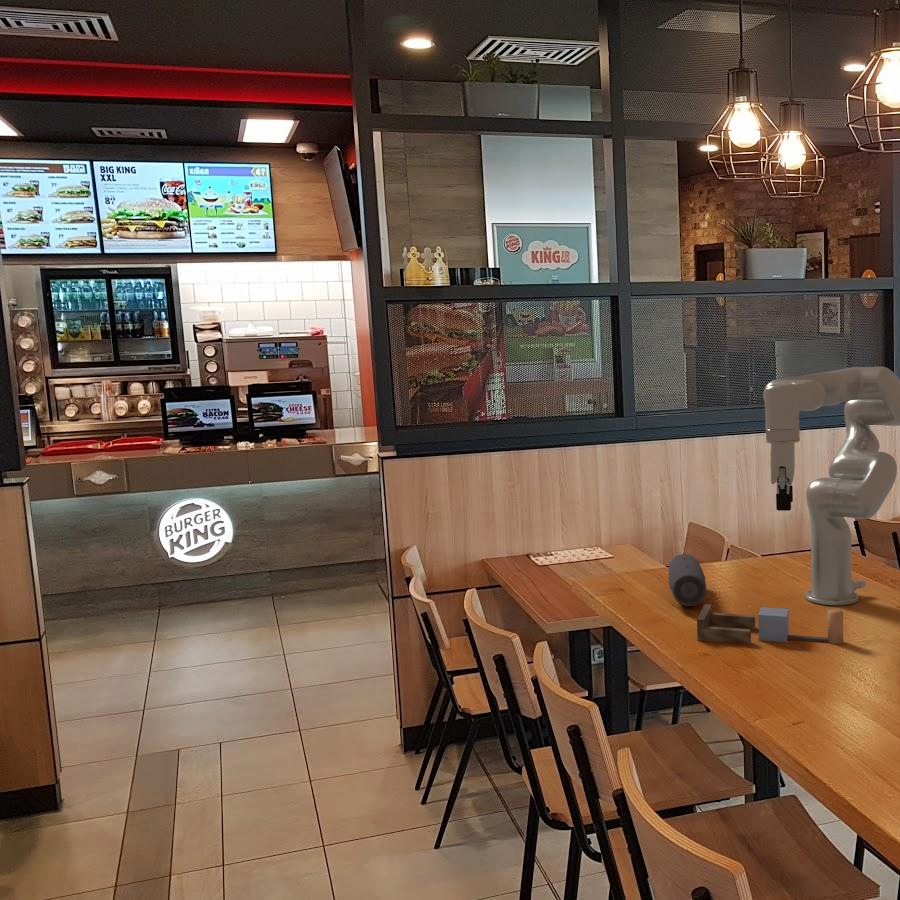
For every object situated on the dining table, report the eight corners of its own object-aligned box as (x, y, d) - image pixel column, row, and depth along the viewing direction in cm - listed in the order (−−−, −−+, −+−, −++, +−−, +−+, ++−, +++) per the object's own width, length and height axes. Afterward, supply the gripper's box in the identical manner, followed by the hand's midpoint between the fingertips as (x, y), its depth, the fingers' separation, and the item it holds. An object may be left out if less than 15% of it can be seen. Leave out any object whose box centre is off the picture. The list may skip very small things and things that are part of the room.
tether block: (843, 638, 200) (843, 608, 200) (843, 646, 195) (842, 616, 194) (761, 632, 208) (760, 603, 207) (758, 640, 202) (758, 610, 201)
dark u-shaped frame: (755, 627, 211) (755, 607, 210) (750, 644, 200) (749, 623, 199) (705, 624, 216) (704, 604, 215) (697, 640, 205) (696, 619, 204)
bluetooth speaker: (709, 611, 226) (708, 572, 224) (671, 611, 227) (670, 573, 226) (702, 586, 248) (701, 551, 247) (667, 586, 250) (666, 552, 248)
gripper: (768, 431, 220) (770, 498, 223) (763, 441, 205) (765, 513, 207) (800, 430, 217) (802, 498, 220) (798, 440, 202) (800, 513, 204)
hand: (784, 505), depth 213 cm, fingers open, 9 cm apart
